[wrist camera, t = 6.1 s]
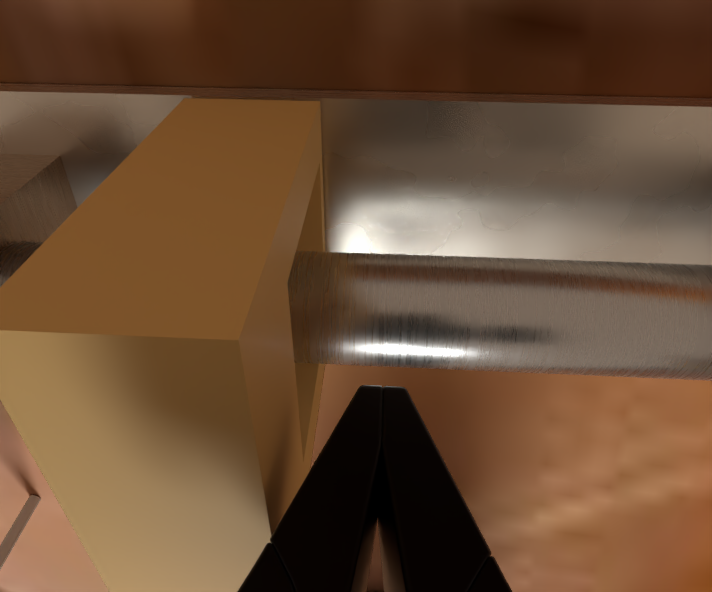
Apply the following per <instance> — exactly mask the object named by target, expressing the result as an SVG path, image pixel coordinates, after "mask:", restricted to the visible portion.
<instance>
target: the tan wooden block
mask: <svg viewBox="0 0 712 592" xmlns="http://www.w3.org/2000/svg"><path fill="white" fill-rule="evenodd" d="M296 251H318V252H325V224H324V196H323V167H322V139H321V110H320V101H289V100H244V99H199V98H184V99H183V100H182V101H181V102H180V103H179V104H178V105H177V106H176V107H175V108H174V109H173V110H172V111H171V112H170V113H169V114H168V115H167V117H166V118H165V119H164V120H163V121H162V122H161V123H160V124H159V125H158V126H157V127H156V128H155V129H154V130H153V131H152V132H151V133H150V134H149V135H148V136H147V137H146V138H145V139H144V140H143V141H142V142H141V143H140V144H139V145H138V146H137V147H136V148H135V149H134V150H133V151H132V152H131V153H130V155H129V156H128V157H127V158H126V159H125V160H124V161H123V162H122V163H121V164H120V165H119V166H118V167H117V168H116V169H115V170H114V171H113V172H112V173H111V174H110V175H109V176H108V177H107V178H106V179H105V180H104V181H103V182H102V183H101V184H100V185H99V186H98V187H97V188H96V189H95V190H94V192H93V193H92V194H91V195H90V196H89V197H88V198H87V199H86V200H85V201H84V202H83V203H82V204H81V205H80V206H79V207H78V208H77V209H76V210H75V211H74V212H73V213H72V214H71V215H70V216H69V217H68V218H67V219H66V220H65V221H64V222H63V223H62V224H61V225H60V226H59V227H58V228H57V230H56V231H55V232H54V233H53V234H52V235H51V236H50V237H49V238H48V239H47V240H46V241H45V242H44V243H43V244H42V245H41V246H40V247H39V248H38V249H37V250H36V251H35V252H34V253H33V254H32V255H31V256H30V257H29V258H28V259H27V260H26V261H25V262H24V263H23V264H22V265H21V266H20V268H19V269H18V270H17V271H16V272H15V273H14V274H13V275H12V276H11V277H10V278H9V279H8V280H7V281H6V282H5V283H4V284H3V285H2V286H1V287H0V400H1V402H2V404H3V405H4V407H5V409H6V411H7V412H8V414H9V416H10V418H11V419H12V421H13V423H14V425H15V426H16V428H17V430H18V432H19V433H20V435H21V437H22V439H23V441H24V442H25V444H26V446H27V448H28V449H29V451H30V453H31V455H32V456H33V458H34V460H35V462H36V463H37V465H38V467H39V469H40V470H41V472H42V474H43V476H44V478H45V479H46V481H47V483H48V485H49V486H50V488H51V490H52V492H53V493H54V495H55V497H56V499H57V500H58V502H59V504H60V506H61V507H62V509H63V511H64V513H65V515H66V516H67V518H68V520H69V522H70V523H71V525H72V527H73V529H74V530H75V532H76V534H77V536H78V537H79V539H80V541H81V543H82V544H83V546H84V548H85V550H86V552H87V553H88V555H89V557H90V559H91V560H92V562H93V564H94V566H95V567H96V569H97V571H98V573H99V574H100V576H101V578H102V580H103V581H104V583H105V585H106V587H107V589H108V590H109V592H237V591H238V590H239V588H240V586H241V585H242V583H243V582H244V580H245V578H246V577H247V575H248V574H249V572H250V571H251V569H252V567H253V566H254V564H255V563H256V561H257V559H258V558H259V556H260V554H261V552H262V551H263V549H264V547H265V546H266V544H267V543H270V538H271V536H272V534H273V533H274V531H275V529H276V527H277V526H278V524H279V522H280V521H281V519H282V517H283V516H284V514H285V512H286V510H287V509H288V507H289V505H290V504H291V502H292V500H293V499H294V497H295V495H296V494H297V492H298V490H299V488H300V487H301V485H302V483H303V482H304V480H305V478H306V477H307V475H308V473H309V471H310V467H311V460H312V453H313V446H314V439H315V432H316V425H317V418H318V412H319V405H320V398H321V391H322V384H323V377H324V370H325V364H316V363H294V352H293V340H292V329H291V318H290V306H289V295H288V284H287V282H288V279H289V275H290V271H291V267H292V264H293V260H294V256H295V253H296Z"/></svg>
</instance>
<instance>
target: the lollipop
mask: <svg viewBox="0 0 712 592" xmlns="http://www.w3.org/2000/svg"><path fill="white" fill-rule="evenodd" d="M39 501H40V498H39V497H38V496H35V495H31V496H29V498H28V500H27V501H26V503H25V505H24V507H23V508H22V510H21V512H20V513H19V515H18V517H17V518H16V520H15V522H14V523H13V525H12V527H11V528H10V530H9V532H8V533H7V535H6V537H5V538H4V540H3V542H2V544H1V545H0V569H1V568H2V566H3V564H4V562H5V561H6V559H7V557H8V555H9V554H10V552H11V550H12V548H13V547H14V545H15V543H16V541H17V540H18V538H19V536H20V534H21V533H22V531H23V529H24V528H25V526H26V524H27V522H28V521H29V519H30V517H31V515H32V514H33V512H34V510H35V508H36V507H37V505H38V503H39Z"/></svg>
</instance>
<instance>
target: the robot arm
mask: <svg viewBox="0 0 712 592" xmlns="http://www.w3.org/2000/svg"><path fill="white" fill-rule="evenodd" d="M377 519H378V529H379V541H380V553H381V564H382V576H383V587H384V592H512V590H511V588H510V586H509V585H508V583H507V581H506V579H505V577H504V575H503V573H502V571H501V570H500V568H499V566H498V564H497V562H496V560H495V558H494V557H493V556H491V551H490V549H489V547H488V545H487V543H486V541H485V539H484V537H483V535H482V533H481V532H480V530H479V528H478V526H477V524H476V522H475V520H474V518H473V516H472V514H471V512H470V510H469V508H468V507H467V505H466V503H465V501H464V499H463V497H462V495H461V493H460V491H459V489H458V487H457V485H456V483H455V481H454V480H453V478H452V476H451V474H450V472H449V470H448V468H447V466H446V464H445V462H444V460H443V458H442V456H441V455H440V453H439V451H438V449H437V447H436V445H435V443H434V441H433V439H432V437H431V435H430V433H429V431H428V429H427V428H426V426H425V424H424V422H423V420H422V418H421V416H420V414H419V412H418V410H417V408H416V406H415V404H414V403H413V401H412V399H411V397H410V395H409V393H408V391H407V390H406V389H405V388H404V387H394V386H385V387H382V386H374V385H362V386H360V387H359V388H358V390H357V392H356V393H355V395H354V397H353V398H352V400H351V402H350V404H349V405H348V407H347V409H346V410H345V412H344V414H343V415H342V417H341V419H340V421H339V422H338V424H337V426H336V427H335V429H334V431H333V432H332V434H331V436H330V438H329V439H328V441H327V443H326V444H325V446H324V448H323V449H322V451H321V453H320V454H319V456H318V458H317V460H316V461H315V463H314V465H313V466H312V468H311V470H310V471H309V473H308V475H307V477H306V478H305V480H304V482H303V483H302V485H301V487H300V488H299V490H298V492H297V494H296V495H295V497H294V499H293V500H292V502H291V504H290V505H289V507H288V509H287V510H286V512H285V514H284V516H283V517H282V519H281V521H280V522H279V524H278V526H277V527H276V529H275V531H274V533H273V534H272V536H271V538H270V543H267V544H266V546H265V547H264V549H263V551H262V552H261V554H260V556H259V558H258V559H257V561H256V563H255V564H254V566H253V567H252V569H251V571H250V572H249V574H248V575H247V577H246V578H245V580H244V582H243V583H242V585H241V586H240V588H239V590H238V591H237V592H366V589H367V583H368V577H369V570H370V564H371V558H372V551H373V545H374V539H375V532H376V526H377Z"/></svg>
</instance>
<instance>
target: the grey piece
mask: <svg viewBox="0 0 712 592" xmlns="http://www.w3.org/2000/svg"><path fill="white" fill-rule="evenodd" d="M184 98H199V99H244V100H289V101H320V110H321V139H322V167H323V196H324V224H325V252H318V251H296V253H295V256H294V260H293V264H292V267H291V271H290V275H289V279H288V282H287V284H288V295H289V306H290V318H291V329H292V340H293V352H294V363H316V364H339V365H362V366H385V367H408V368H432V369H455V370H478V371H501V372H525V373H548V374H571V375H594V376H617V377H641V378H664V379H687V380H710V381H712V98H671V97H624V96H578V95H531V94H485V93H438V92H391V91H345V90H298V89H251V88H205V87H158V86H111V85H65V84H18V83H0V287H1V286H2V285H3V284H4V283H5V282H6V281H7V280H8V279H9V278H10V277H11V276H12V275H13V274H14V273H15V272H16V271H17V270H18V269H19V268H20V266H21V265H22V264H23V263H24V262H25V261H26V260H27V259H28V258H29V257H30V256H31V255H32V254H33V253H34V252H35V251H36V250H37V249H38V248H39V247H40V246H41V245H42V244H43V243H44V242H45V241H46V240H47V239H48V238H49V237H50V236H51V235H52V234H53V233H54V232H55V231H56V230H57V228H58V227H59V226H60V225H61V224H62V223H63V222H64V221H65V220H66V219H67V218H68V217H69V216H70V215H71V214H72V213H73V212H74V211H75V210H76V209H77V208H78V207H79V206H80V205H81V204H82V203H83V202H84V201H85V200H86V199H87V198H88V197H89V196H90V195H91V194H92V193H93V192H94V190H95V189H96V188H97V187H98V186H99V185H100V184H101V183H102V182H103V181H104V180H105V179H106V178H107V177H108V176H109V175H110V174H111V173H112V172H113V171H114V170H115V169H116V168H117V167H118V166H119V165H120V164H121V163H122V162H123V161H124V160H125V159H126V158H127V157H128V156H129V155H130V153H131V152H132V151H133V150H134V149H135V148H136V147H137V146H138V145H139V144H140V143H141V142H142V141H143V140H144V139H145V138H146V137H147V136H148V135H149V134H150V133H151V132H152V131H153V130H154V129H155V128H156V127H157V126H158V125H159V124H160V123H161V122H162V121H163V120H164V119H165V118H166V117H167V115H168V114H169V113H170V112H171V111H172V110H173V109H174V108H175V107H176V106H177V105H178V104H179V103H180V102H181V101H182V100H183V99H184Z"/></svg>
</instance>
